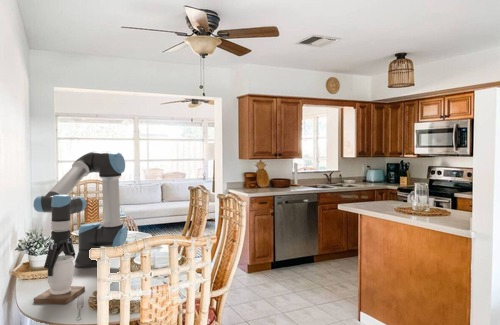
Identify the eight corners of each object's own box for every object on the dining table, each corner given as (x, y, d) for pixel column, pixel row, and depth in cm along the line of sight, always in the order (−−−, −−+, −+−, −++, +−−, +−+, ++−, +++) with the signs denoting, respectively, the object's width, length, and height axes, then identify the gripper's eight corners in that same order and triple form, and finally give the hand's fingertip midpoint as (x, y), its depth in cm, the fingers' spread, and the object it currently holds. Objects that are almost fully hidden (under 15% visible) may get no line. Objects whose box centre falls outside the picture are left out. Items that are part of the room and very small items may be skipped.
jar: (55, 287, 172) (55, 254, 171) (78, 288, 171) (78, 255, 171) (42, 296, 161) (42, 261, 161) (65, 296, 161) (66, 261, 160)
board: (55, 289, 174) (55, 285, 174) (84, 290, 173) (84, 286, 173) (33, 302, 158) (33, 298, 158) (65, 304, 157) (65, 299, 157)
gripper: (68, 224, 178) (67, 269, 178) (34, 235, 153) (34, 287, 153) (83, 225, 178) (83, 269, 178) (52, 236, 153) (52, 288, 153)
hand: (60, 278), depth 166 cm, fingers open, 13 cm apart
